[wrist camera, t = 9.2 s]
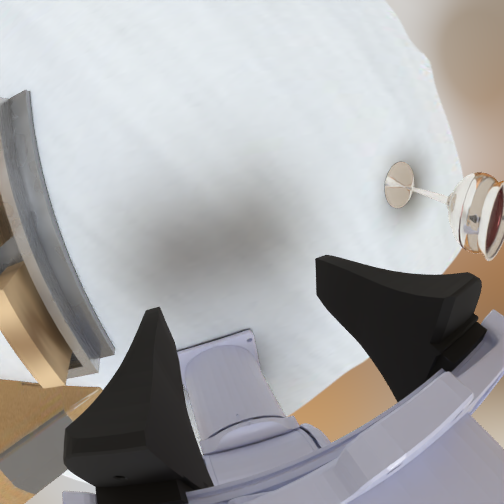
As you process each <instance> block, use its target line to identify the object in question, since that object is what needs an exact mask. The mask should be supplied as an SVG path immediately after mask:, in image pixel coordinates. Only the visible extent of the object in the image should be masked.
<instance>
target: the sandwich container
mask: <svg viewBox="0 0 504 504" xmlns="http://www.w3.org/2000/svg"><path fill="white" fill-rule="evenodd" d="M23 383H25V384H23ZM102 391H103V390H102V389H101V388H100V387H78V386H58V387H51V388H44V389H43V388H42V386H41V385H40V384H39V383H29V382H21V381H11V380H2V379H0V504H24V503H26V502H27V501H28V500H29V499H31V498H32V497H33V496H34V495H35V494H37V493H38V492H39V491H40V490H42V489H43V488H44V487H46V486H47V485H48V484H49V483H51V482H52V481H54V480H55V479H56V478H57V477H59V476H60V475H61V474H62V473H64V472H65V471H66V470H67V469H68V468H67V467H66V466H65V465H64V462H63V451H64V435H65V428H66V427H67V426H69V425H70V424H71V423H72V422H73V421H74V420H75V419H77V418H78V417H79V416H80V415H81V414H82V413H83V412H84V411H85V410H86V409H87V408H88V407H89V406H90V405H91V404H92V403H93V402H94V401H95V399H96V398H97V397H98V396H99V395H100V394H101V392H102Z"/></svg>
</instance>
